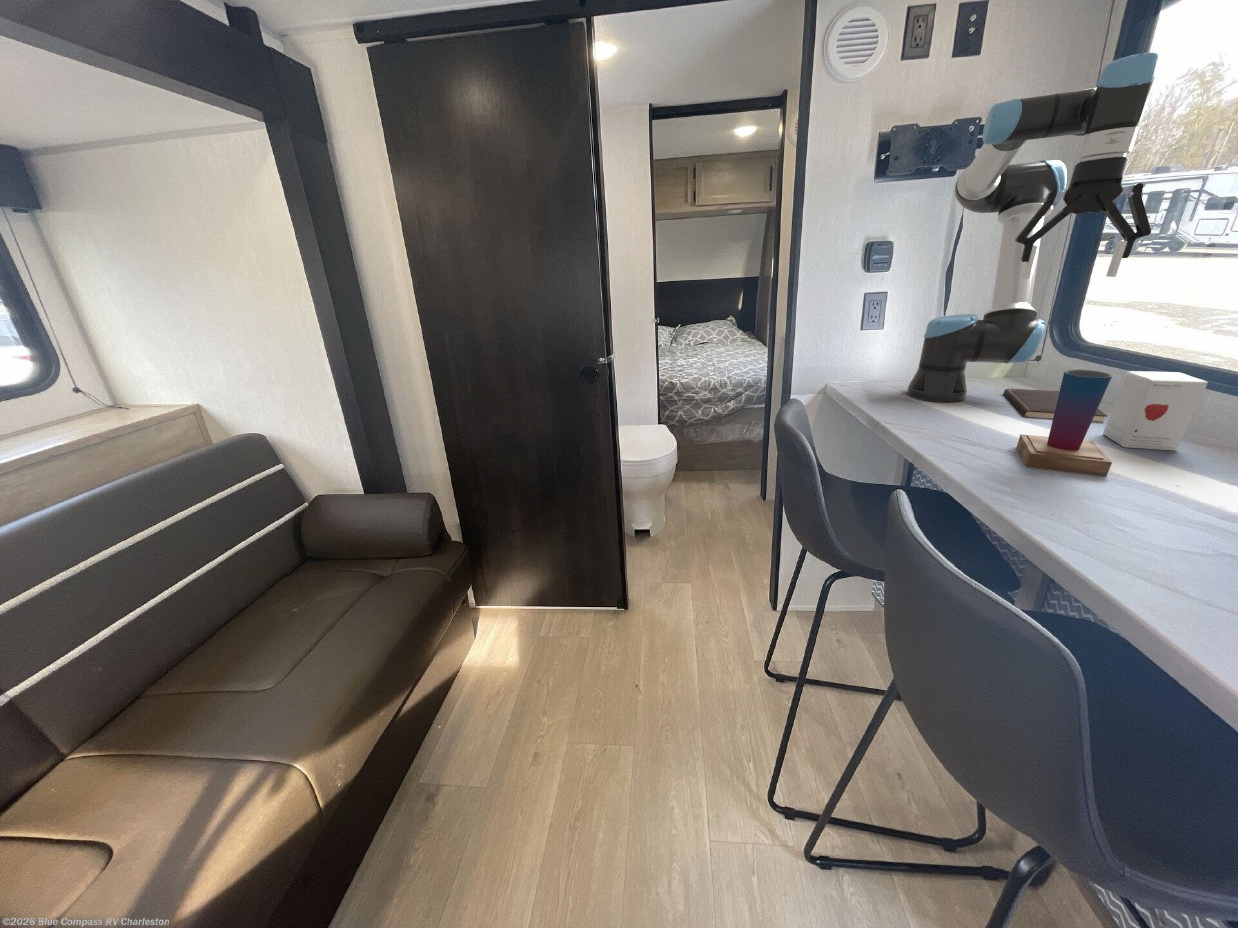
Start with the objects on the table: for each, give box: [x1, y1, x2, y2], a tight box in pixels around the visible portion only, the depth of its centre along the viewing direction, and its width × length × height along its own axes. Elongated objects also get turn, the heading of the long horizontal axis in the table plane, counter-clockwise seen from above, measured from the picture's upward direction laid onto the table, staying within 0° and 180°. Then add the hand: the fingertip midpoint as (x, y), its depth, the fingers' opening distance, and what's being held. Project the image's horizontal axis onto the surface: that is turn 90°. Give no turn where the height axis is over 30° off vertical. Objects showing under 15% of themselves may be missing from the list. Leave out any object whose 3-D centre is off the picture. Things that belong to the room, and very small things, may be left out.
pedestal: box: [1016, 433, 1113, 477], centre depth 98 cm, size 12×12×3 cm
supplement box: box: [1102, 370, 1209, 452], centre depth 102 cm, size 9×9×15 cm
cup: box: [1047, 369, 1113, 450], centre depth 94 cm, size 7×7×15 cm
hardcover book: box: [1003, 388, 1108, 423], centre depth 129 cm, size 16×23×2 cm
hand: (1066, 277), depth 99 cm, fingers open, 13 cm apart
